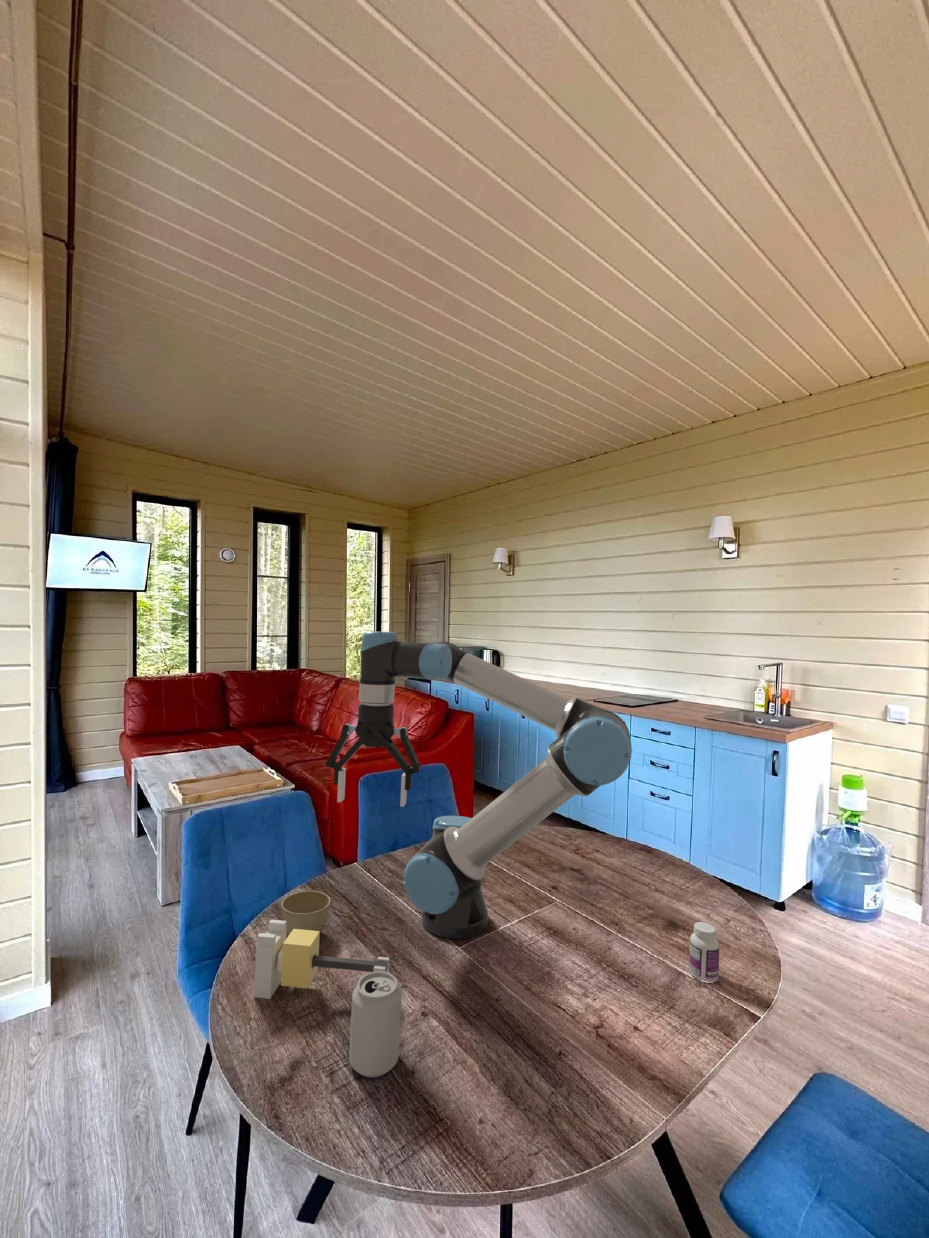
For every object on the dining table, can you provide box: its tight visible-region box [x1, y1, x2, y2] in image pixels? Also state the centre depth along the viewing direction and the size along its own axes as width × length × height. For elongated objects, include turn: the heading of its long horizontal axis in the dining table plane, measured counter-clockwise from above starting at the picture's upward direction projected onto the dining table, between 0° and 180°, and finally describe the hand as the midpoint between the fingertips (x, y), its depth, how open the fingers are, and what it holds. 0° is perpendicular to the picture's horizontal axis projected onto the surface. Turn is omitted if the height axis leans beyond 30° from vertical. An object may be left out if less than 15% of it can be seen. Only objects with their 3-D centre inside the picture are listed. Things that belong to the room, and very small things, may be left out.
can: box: [348, 971, 403, 1078], centre depth 83 cm, size 8×8×12 cm
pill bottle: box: [688, 921, 720, 982], centre depth 108 cm, size 5×5×10 cm
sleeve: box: [280, 929, 321, 989], centre depth 99 cm, size 5×5×7 cm
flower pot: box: [281, 890, 331, 934], centre depth 116 cm, size 10×10×7 cm
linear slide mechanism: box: [253, 919, 390, 1000], centre depth 98 cm, size 23×6×11 cm, turn 85°
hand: (371, 802), depth 117 cm, fingers open, 13 cm apart
